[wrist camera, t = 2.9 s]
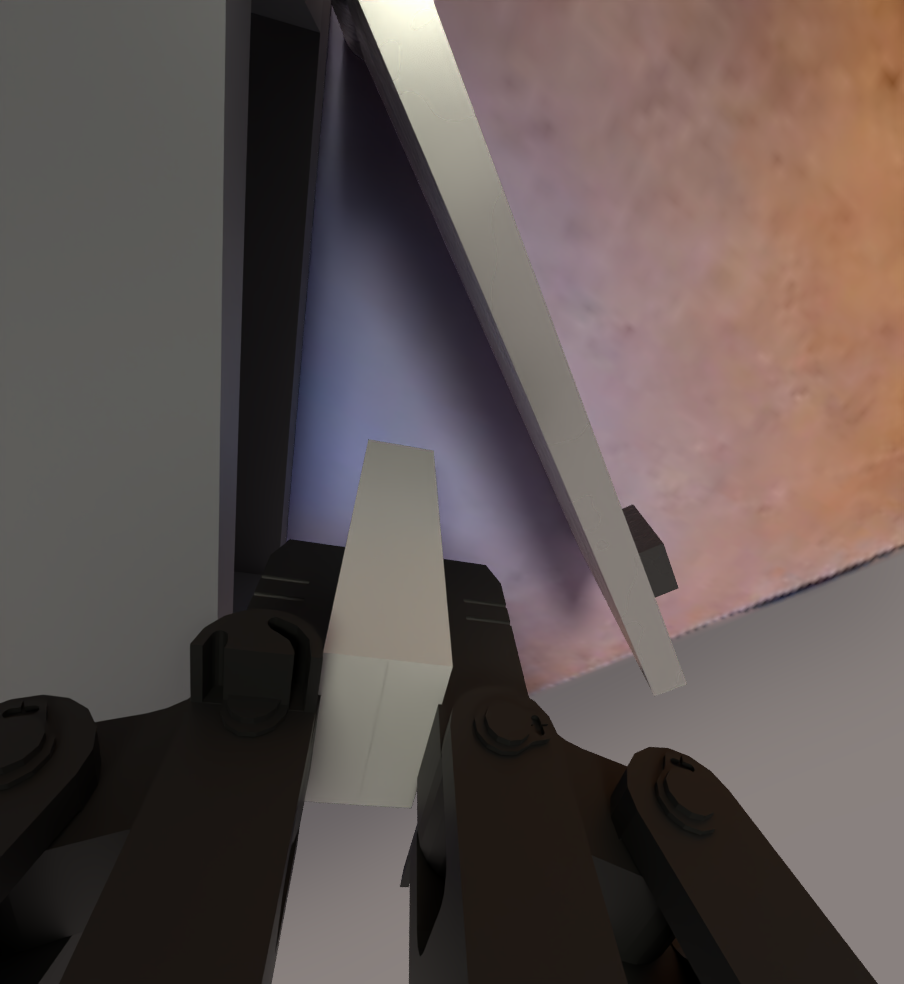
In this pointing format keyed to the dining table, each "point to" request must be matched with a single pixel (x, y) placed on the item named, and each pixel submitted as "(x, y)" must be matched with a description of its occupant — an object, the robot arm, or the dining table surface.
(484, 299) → the side door
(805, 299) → the dining table surface
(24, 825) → the robot arm
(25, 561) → the grey cabinet body
